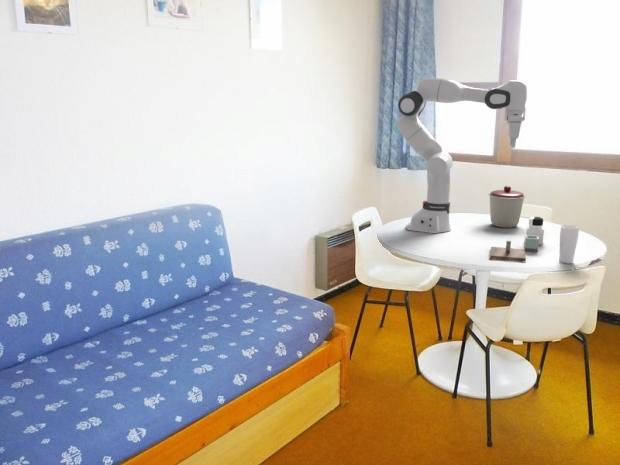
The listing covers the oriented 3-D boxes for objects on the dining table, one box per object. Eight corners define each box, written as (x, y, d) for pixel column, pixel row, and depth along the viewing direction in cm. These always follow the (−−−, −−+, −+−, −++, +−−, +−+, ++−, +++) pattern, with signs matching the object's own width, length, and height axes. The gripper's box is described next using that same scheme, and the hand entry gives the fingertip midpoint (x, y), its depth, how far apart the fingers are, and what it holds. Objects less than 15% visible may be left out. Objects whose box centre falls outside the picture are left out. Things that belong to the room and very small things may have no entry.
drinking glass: (554, 259, 236) (557, 225, 232) (569, 259, 236) (573, 224, 233) (562, 264, 229) (566, 229, 226) (578, 264, 230) (582, 228, 226)
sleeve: (524, 251, 248) (525, 238, 247) (524, 248, 253) (525, 235, 251) (537, 252, 246) (539, 239, 245) (537, 249, 251) (538, 236, 250)
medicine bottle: (541, 241, 264) (544, 216, 261) (542, 245, 258) (545, 219, 255) (525, 239, 266) (527, 215, 263) (525, 243, 260) (528, 218, 257)
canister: (480, 226, 293) (483, 186, 287) (494, 220, 306) (497, 181, 300) (514, 231, 281) (518, 190, 276) (527, 225, 294) (531, 185, 289)
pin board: (490, 258, 237) (491, 244, 236) (490, 249, 250) (491, 235, 249) (525, 261, 233) (526, 246, 232) (524, 252, 246) (525, 238, 244)
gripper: (507, 115, 269) (505, 144, 272) (508, 117, 250) (505, 148, 253) (521, 115, 267) (518, 144, 270) (523, 117, 248) (520, 149, 251)
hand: (512, 146), depth 262 cm, fingers open, 8 cm apart
